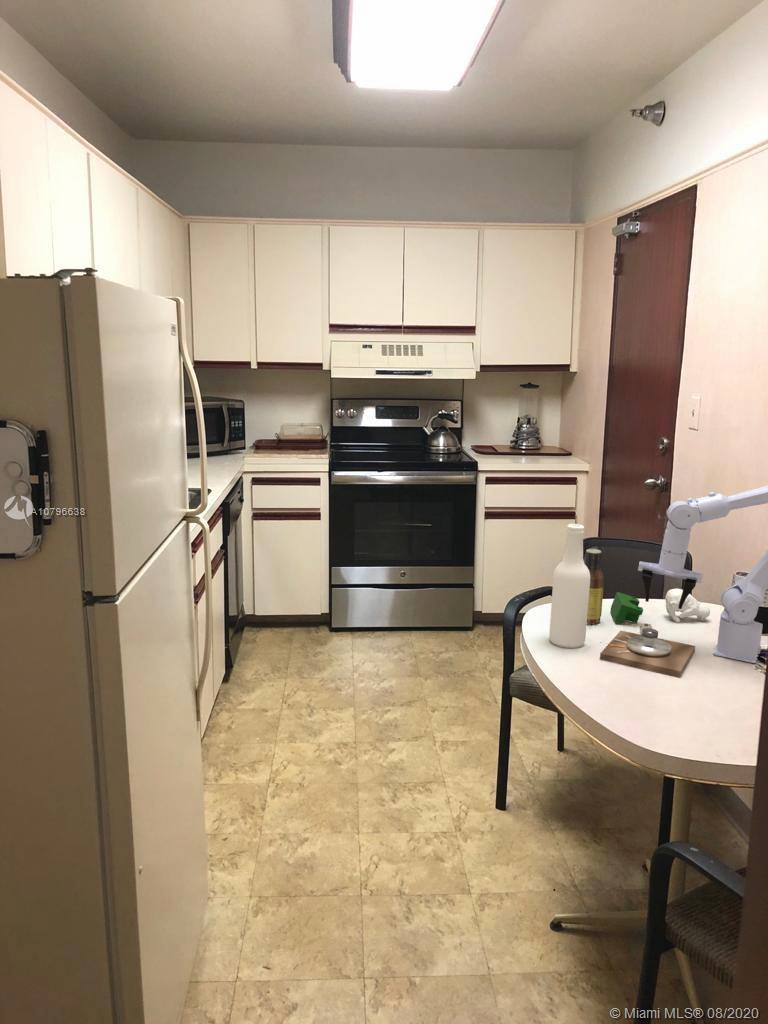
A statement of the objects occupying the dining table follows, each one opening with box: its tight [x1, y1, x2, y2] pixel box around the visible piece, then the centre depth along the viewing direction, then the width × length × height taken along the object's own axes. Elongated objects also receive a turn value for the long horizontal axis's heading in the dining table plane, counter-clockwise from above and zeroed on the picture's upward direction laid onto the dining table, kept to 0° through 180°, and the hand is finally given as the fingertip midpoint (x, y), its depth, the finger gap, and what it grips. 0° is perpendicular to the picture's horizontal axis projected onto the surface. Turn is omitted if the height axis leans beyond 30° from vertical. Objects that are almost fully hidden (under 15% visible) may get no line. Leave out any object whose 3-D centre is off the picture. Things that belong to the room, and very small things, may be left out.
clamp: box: [610, 591, 644, 625], centre depth 204 cm, size 12×6×9 cm, turn 163°
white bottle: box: [548, 523, 590, 649], centre depth 184 cm, size 9×9×30 cm
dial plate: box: [599, 630, 696, 678], centre depth 180 cm, size 18×18×2 cm
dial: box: [627, 622, 671, 657], centre depth 180 cm, size 13×10×4 cm
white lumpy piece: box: [665, 588, 711, 623], centre depth 204 cm, size 6×8×12 cm
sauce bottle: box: [584, 548, 605, 625], centre depth 200 cm, size 7×6×20 cm
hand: (663, 604), depth 183 cm, fingers open, 7 cm apart
